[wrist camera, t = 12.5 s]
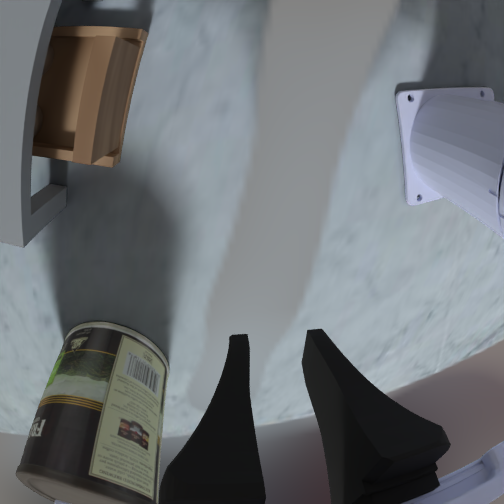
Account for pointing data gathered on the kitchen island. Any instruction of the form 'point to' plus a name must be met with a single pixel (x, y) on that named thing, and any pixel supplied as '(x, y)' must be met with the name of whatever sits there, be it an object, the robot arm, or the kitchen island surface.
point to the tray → (87, 93)
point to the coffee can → (99, 420)
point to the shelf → (23, 118)
